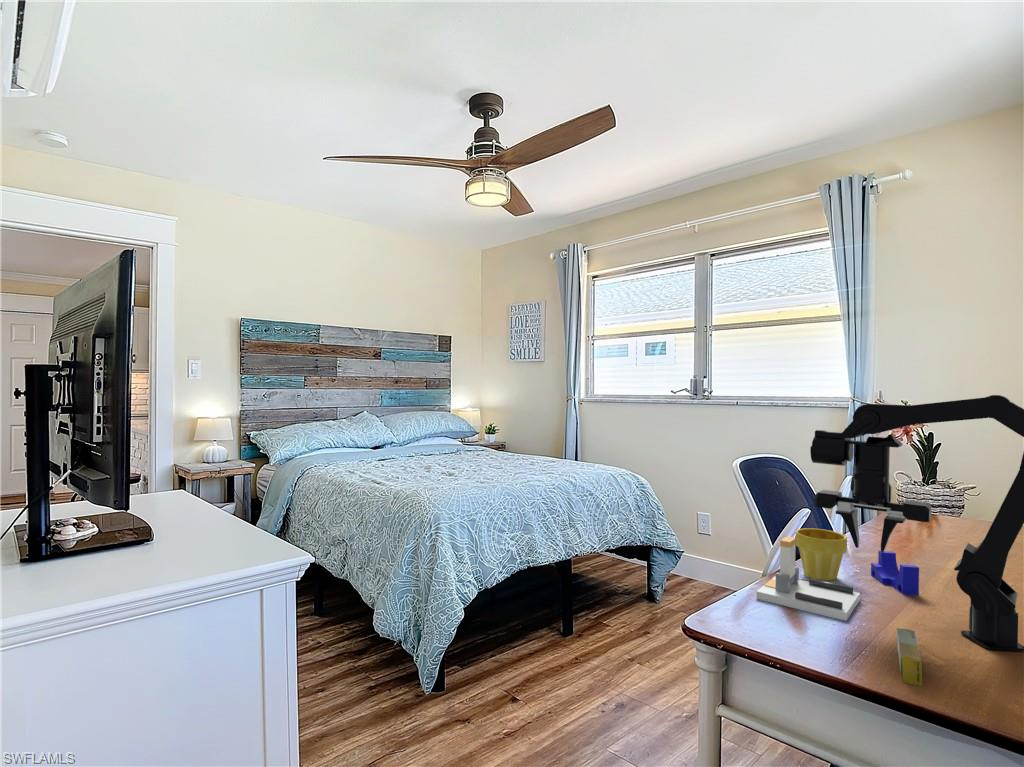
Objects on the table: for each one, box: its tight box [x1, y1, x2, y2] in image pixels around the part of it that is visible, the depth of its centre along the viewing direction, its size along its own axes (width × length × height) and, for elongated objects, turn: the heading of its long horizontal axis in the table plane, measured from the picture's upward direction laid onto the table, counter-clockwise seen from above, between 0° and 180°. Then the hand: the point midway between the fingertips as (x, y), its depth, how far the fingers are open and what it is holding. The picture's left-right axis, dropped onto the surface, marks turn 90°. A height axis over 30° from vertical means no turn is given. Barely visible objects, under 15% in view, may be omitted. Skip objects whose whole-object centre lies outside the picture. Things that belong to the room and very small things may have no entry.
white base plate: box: [755, 566, 861, 622], centre depth 117 cm, size 16×14×5 cm
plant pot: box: [795, 527, 848, 582], centre depth 132 cm, size 10×10×10 cm
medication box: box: [896, 628, 923, 687], centre depth 89 cm, size 12×3×4 cm, turn 149°
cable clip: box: [870, 550, 920, 596], centre depth 127 cm, size 12×4×6 cm, turn 169°
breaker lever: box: [779, 536, 797, 584], centre depth 119 cm, size 2×5×9 cm, turn 140°
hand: (869, 549), depth 111 cm, fingers open, 4 cm apart
